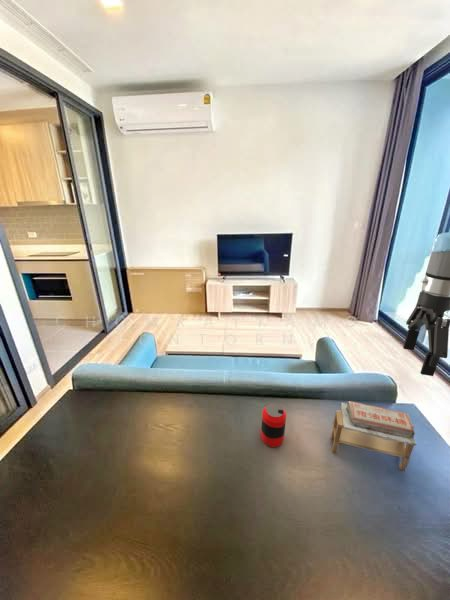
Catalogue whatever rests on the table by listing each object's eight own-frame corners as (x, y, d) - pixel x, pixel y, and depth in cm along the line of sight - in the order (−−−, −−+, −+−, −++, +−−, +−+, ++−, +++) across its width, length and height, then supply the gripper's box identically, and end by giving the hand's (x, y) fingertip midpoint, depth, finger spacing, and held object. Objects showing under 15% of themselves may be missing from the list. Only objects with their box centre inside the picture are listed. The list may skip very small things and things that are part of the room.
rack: (398, 453, 79) (407, 424, 75) (404, 471, 74) (415, 441, 69) (330, 437, 85) (336, 409, 80) (332, 453, 79) (338, 424, 75)
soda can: (282, 450, 80) (285, 422, 76) (258, 443, 82) (260, 415, 78) (284, 431, 87) (287, 404, 82) (263, 426, 89) (265, 399, 85)
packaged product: (408, 407, 75) (420, 434, 66) (403, 419, 77) (415, 447, 68) (342, 394, 80) (346, 417, 71) (340, 405, 82) (343, 430, 73)
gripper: (405, 279, 78) (389, 338, 86) (444, 308, 56) (418, 385, 63) (433, 281, 76) (415, 342, 84) (485, 312, 54) (454, 391, 61)
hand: (416, 360), depth 74 cm, fingers open, 13 cm apart
